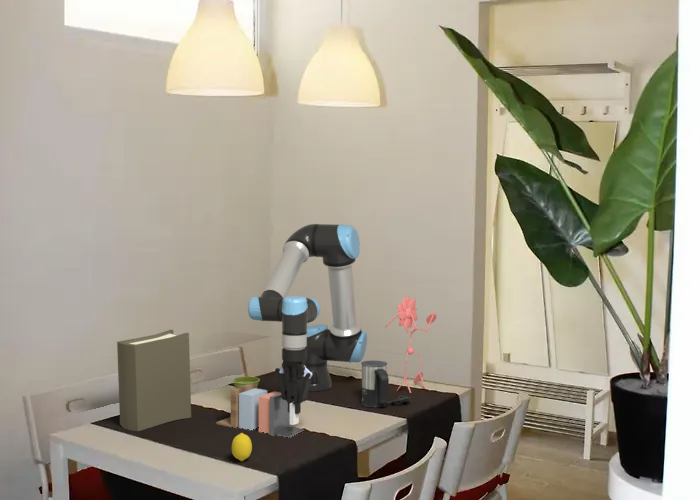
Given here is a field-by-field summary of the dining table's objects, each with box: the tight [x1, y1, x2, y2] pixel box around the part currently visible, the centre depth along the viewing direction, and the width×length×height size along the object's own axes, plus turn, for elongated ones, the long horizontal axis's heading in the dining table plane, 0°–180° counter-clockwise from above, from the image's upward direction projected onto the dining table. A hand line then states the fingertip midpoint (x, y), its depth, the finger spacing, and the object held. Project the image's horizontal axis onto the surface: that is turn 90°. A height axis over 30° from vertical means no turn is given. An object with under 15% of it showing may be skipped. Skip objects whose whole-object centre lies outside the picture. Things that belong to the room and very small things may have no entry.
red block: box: [258, 390, 281, 435], centre depth 256 cm, size 8×5×11 cm, turn 149°
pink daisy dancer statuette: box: [384, 296, 438, 394], centre depth 309 cm, size 15×26×35 cm, turn 139°
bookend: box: [269, 392, 305, 439], centre depth 253 cm, size 10×6×12 cm, turn 149°
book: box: [116, 329, 192, 432], centre depth 262 cm, size 22×9×28 cm, turn 140°
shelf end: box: [215, 383, 256, 429], centre depth 263 cm, size 10×8×12 cm
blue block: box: [238, 387, 268, 431], centre depth 260 cm, size 8×5×11 cm, turn 148°
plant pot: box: [232, 376, 261, 389], centre depth 285 cm, size 9×9×9 cm
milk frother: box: [360, 359, 412, 408], centre depth 287 cm, size 14×16×15 cm
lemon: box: [231, 432, 253, 462], centre depth 227 cm, size 6×6×8 cm
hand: (294, 423), depth 252 cm, fingers closed
